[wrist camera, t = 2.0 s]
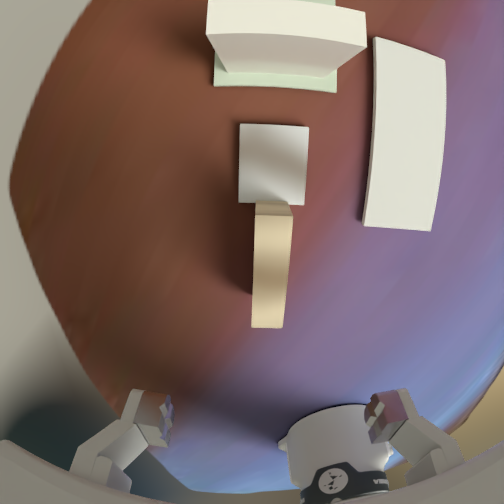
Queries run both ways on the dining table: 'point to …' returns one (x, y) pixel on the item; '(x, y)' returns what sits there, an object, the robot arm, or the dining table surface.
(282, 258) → the turner
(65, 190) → the dining table surface
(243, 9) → the tile
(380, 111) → the pad
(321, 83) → the mat
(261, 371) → the dining table surface
